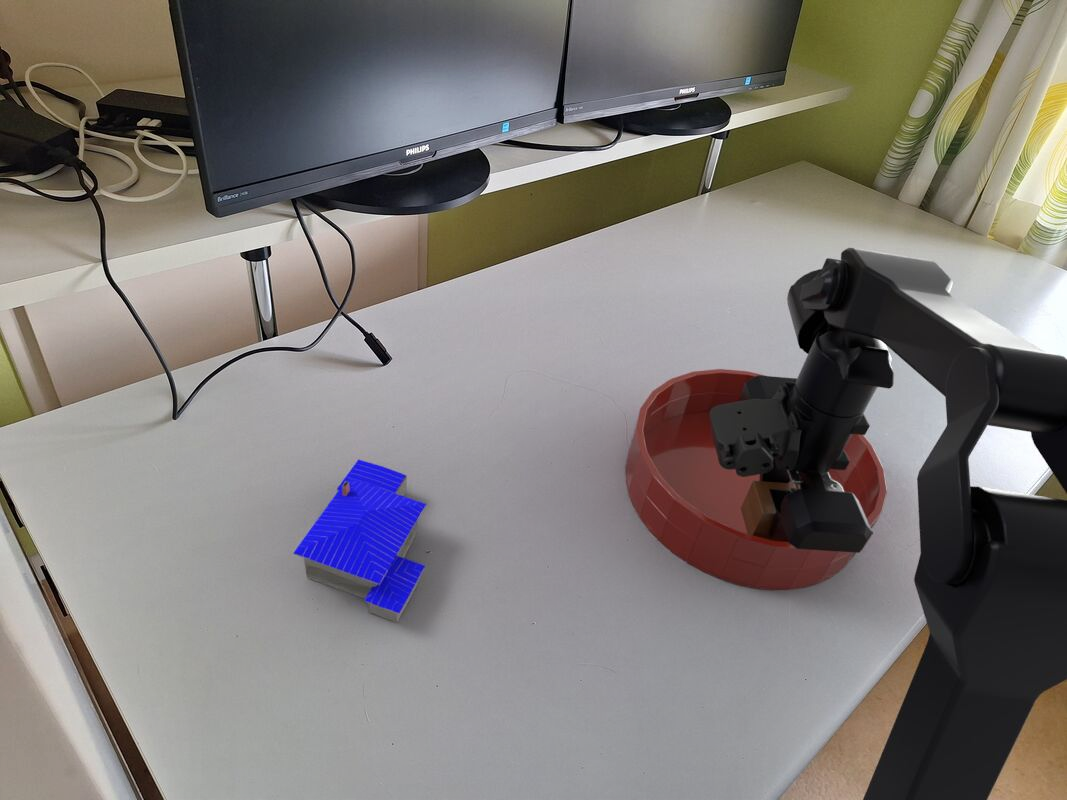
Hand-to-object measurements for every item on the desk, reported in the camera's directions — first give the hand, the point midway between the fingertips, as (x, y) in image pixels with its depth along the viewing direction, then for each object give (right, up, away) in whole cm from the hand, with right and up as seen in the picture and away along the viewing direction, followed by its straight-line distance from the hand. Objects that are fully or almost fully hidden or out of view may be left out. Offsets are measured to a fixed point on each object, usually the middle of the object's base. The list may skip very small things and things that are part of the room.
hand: (769, 518), depth 71 cm
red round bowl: (0, +1, +11) cm, 11 cm away
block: (0, -1, +1) cm, 1 cm away
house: (-38, -3, -1) cm, 38 cm away
